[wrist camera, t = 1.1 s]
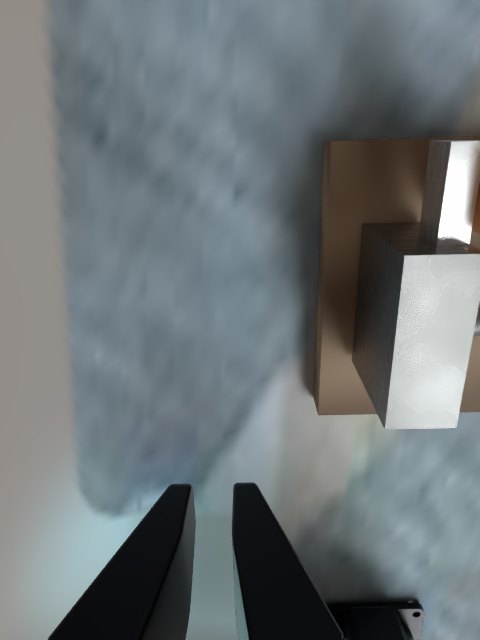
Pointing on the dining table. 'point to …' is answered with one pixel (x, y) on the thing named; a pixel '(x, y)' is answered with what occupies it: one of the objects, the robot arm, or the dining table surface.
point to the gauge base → (344, 252)
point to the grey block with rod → (421, 298)
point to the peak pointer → (477, 214)
